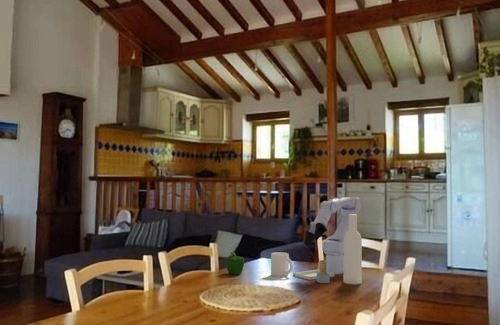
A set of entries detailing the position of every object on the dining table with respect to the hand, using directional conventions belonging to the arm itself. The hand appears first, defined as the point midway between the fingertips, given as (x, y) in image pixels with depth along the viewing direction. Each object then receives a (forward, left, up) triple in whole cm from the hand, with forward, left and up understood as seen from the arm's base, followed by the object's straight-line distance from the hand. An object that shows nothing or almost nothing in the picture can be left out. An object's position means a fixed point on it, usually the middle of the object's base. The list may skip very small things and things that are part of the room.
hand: (310, 241), depth 206 cm
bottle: (-11, +15, -17) cm, 25 cm away
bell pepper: (+20, -30, -17) cm, 40 cm away
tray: (-7, -4, -17) cm, 19 cm away
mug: (+5, -13, -17) cm, 22 cm away
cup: (-1, +7, -17) cm, 18 cm away
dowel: (-1, +7, -17) cm, 18 cm away
